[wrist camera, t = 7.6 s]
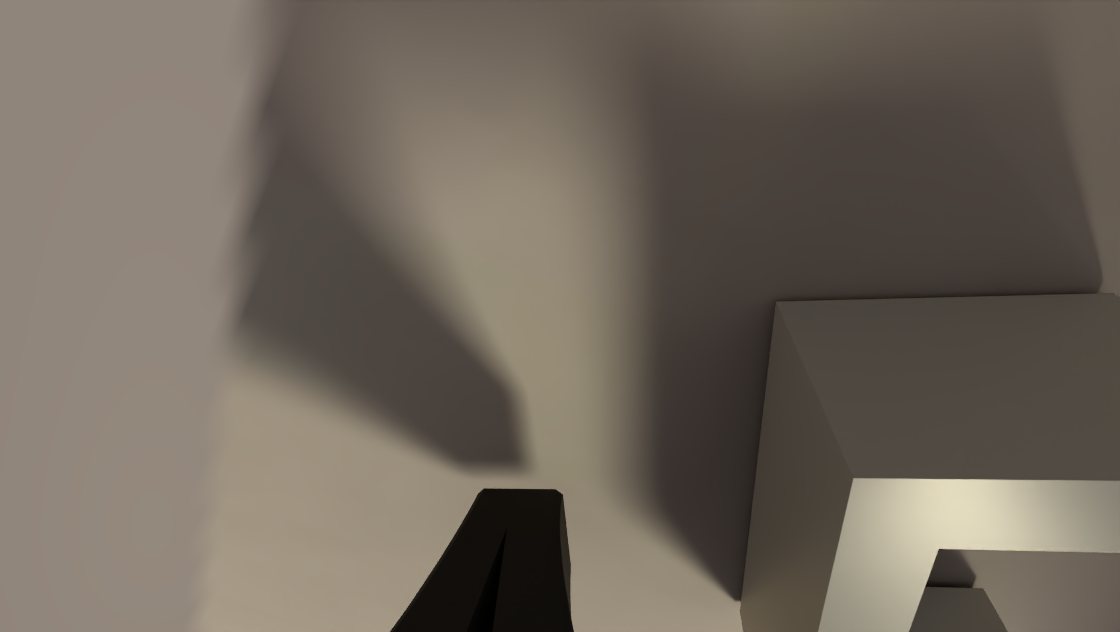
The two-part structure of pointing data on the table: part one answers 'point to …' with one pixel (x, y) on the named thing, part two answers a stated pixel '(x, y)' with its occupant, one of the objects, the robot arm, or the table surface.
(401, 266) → the table surface
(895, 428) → the cap
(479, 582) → the robot arm
